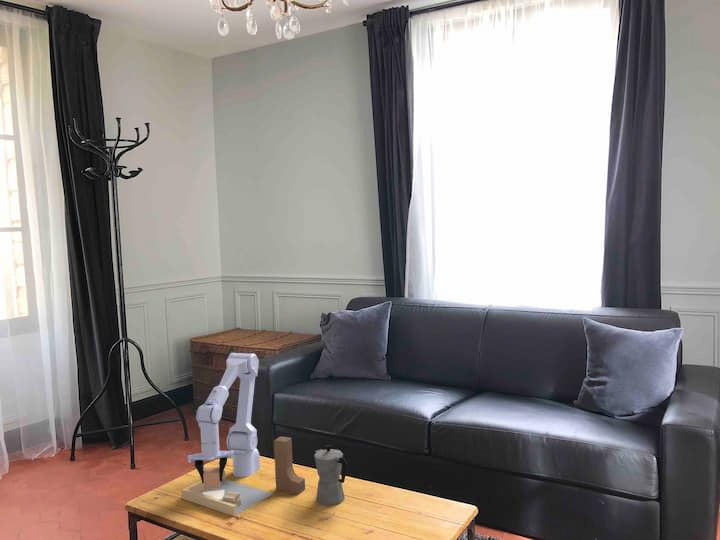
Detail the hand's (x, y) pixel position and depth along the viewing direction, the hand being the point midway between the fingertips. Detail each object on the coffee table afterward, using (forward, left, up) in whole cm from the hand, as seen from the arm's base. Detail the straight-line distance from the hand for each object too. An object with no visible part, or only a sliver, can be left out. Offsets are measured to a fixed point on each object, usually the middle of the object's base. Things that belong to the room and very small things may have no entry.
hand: (212, 481), depth 196 cm
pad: (0, 0, -5) cm, 5 cm away
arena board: (-3, +4, -6) cm, 8 cm away
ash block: (+2, +11, -5) cm, 13 cm away
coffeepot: (-19, +35, -6) cm, 40 cm away
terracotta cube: (0, 0, -1) cm, 1 cm away
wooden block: (-17, +19, -6) cm, 26 cm away
